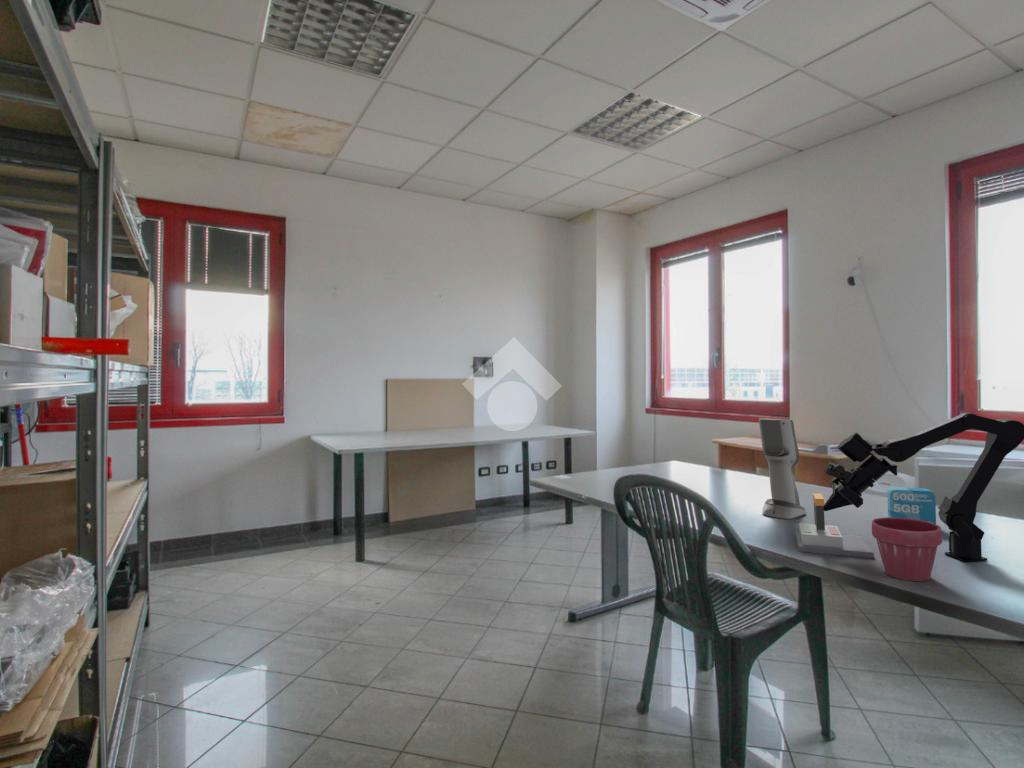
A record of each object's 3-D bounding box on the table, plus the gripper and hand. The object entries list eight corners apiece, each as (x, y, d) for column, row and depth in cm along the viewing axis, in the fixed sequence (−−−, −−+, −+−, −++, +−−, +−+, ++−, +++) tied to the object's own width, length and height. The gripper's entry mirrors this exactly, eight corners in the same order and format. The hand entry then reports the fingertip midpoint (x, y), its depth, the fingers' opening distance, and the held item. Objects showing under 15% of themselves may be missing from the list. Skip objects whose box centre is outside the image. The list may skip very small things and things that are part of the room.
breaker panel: (863, 541, 161) (863, 525, 161) (873, 558, 146) (873, 541, 146) (795, 535, 168) (795, 520, 168) (799, 551, 154) (798, 535, 154)
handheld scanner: (756, 514, 195) (754, 418, 194) (775, 508, 202) (772, 415, 202) (789, 520, 185) (786, 419, 185) (807, 514, 193) (804, 416, 192)
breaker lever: (822, 523, 161) (821, 493, 161) (825, 530, 155) (823, 498, 155) (814, 523, 162) (812, 493, 162) (816, 529, 156) (815, 498, 156)
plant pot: (866, 562, 143) (865, 514, 143) (930, 567, 138) (929, 518, 138) (881, 582, 130) (879, 529, 130) (952, 588, 125) (951, 533, 125)
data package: (890, 525, 175) (889, 489, 175) (888, 522, 179) (887, 486, 179) (936, 529, 170) (935, 491, 170) (932, 525, 174) (931, 488, 174)
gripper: (838, 449, 164) (798, 483, 169) (847, 458, 147) (803, 496, 152) (869, 476, 161) (828, 510, 166) (883, 488, 144) (836, 526, 149)
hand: (823, 509), depth 158 cm, fingers closed, pressing on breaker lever
